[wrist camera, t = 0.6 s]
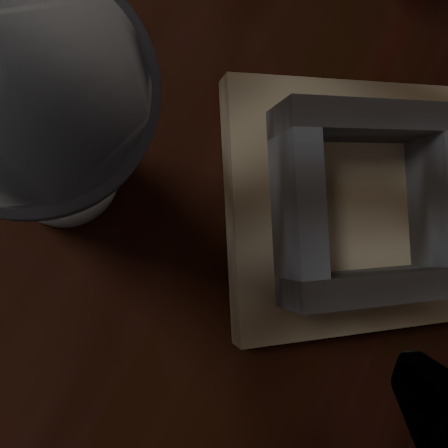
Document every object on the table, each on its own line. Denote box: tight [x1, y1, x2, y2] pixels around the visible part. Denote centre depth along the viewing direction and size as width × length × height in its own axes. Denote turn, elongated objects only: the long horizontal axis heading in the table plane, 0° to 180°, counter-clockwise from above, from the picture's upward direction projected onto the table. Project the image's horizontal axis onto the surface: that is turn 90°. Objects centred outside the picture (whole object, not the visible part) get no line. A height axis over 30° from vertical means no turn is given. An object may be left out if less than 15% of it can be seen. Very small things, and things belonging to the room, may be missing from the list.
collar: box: [219, 72, 448, 350], centre depth 23 cm, size 14×14×4 cm
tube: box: [0, 0, 161, 228], centre depth 14 cm, size 5×5×13 cm
